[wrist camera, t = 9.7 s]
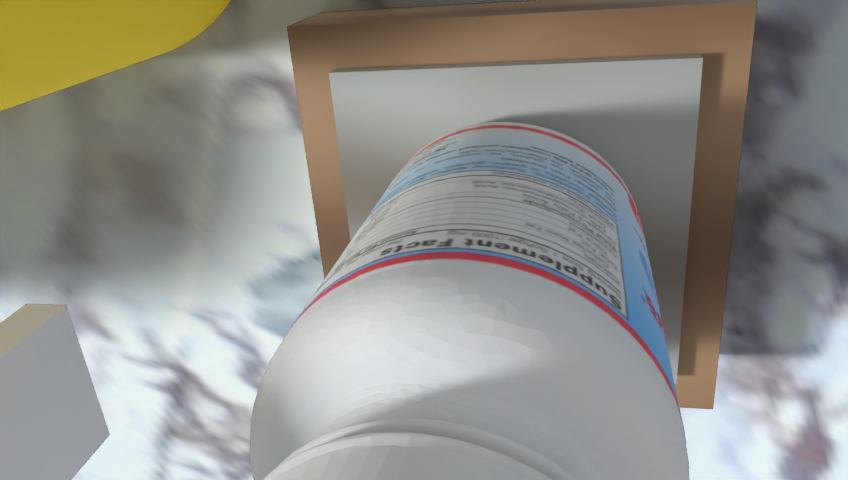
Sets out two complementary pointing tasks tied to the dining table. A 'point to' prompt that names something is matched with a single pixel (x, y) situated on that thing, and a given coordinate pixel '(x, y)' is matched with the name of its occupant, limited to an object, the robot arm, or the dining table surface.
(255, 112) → the dining table surface
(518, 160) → the pill bottle
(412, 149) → the stand
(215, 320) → the dining table surface
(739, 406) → the dining table surface
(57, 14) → the yellow toilet paper roll
